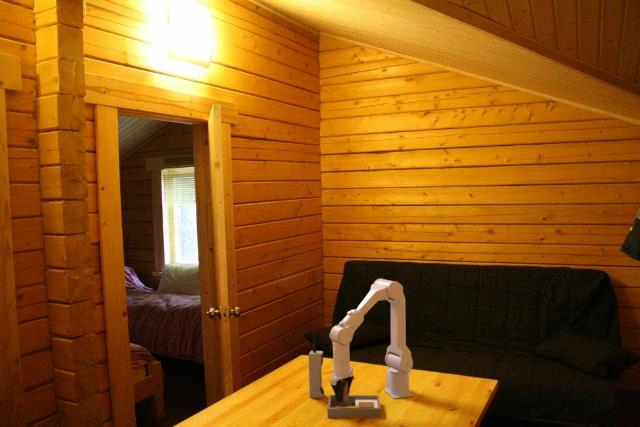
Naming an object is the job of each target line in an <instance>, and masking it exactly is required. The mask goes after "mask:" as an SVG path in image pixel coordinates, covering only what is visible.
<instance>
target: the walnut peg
mask: <svg viewBox="0 0 640 427" xmlns="http://www.w3.org/2000/svg"><path fill="white" fill-rule="evenodd" d="M341 381H342V382H344V383H346V385H345V389H344V396H343V401H342V402H339V401H337V404H336V405H337V407H338V408H347V407H348V406H349V404H348V381H346V380H341Z"/></svg>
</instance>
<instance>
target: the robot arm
mask: <svg viewBox="0 0 640 427" xmlns="http://www.w3.org/2000/svg"><path fill="white" fill-rule="evenodd" d="M378 301H387V302H389V304H390V345H388V347H387V348H386V354H385V357H384V362H385V364H386V365H387V367H388V369H387V371H386V388H384V391H385V392H386V393H387V394H388V395H389V396H390V397H391V398H393V399H401V398H409V397H413V396H414V394H413V393H412V392H411V391H410V372H411V371H412V368H413V366H414V362H413V358H412V352H411V350H410V349H409V348H408V346H407V345H406V343H407V342H406V340H407V338H406V336H407V335H406V334H407V333H406V332H407V331H406V297H405V295H404V286H403V285H402V284H401V283H400V282H398V281H396V280H395V281H393V280H388V279H384V278H378V279H376V280H375V281H374V282H373V283H372V284H371V286H370V290H369V292H368V293H367V294H366V296H365V297H364V298H363V299H362V301H361V302H360V304H359V305H358V306H357V308H355V309H351V310H349V311H347V312H346V314H347V315H345V317H344V318H343V319H342V320H341V321H340V322H339V323H338V324H336V325H334V326H333V327H332V328H331V330H330V333H328V335H329V339H330V340H331V342H332V343H331V344H332V345H331V346H332V359H333V361H332V362H333V373H332V375H331V377H330V378H329V385H330V386H331V388H332V390H333V392H334V395H335V397H336V400H337V401H339V402H342V401H343V396H344V389H345V385H346V383H344V382H342V381H341V380H346V381H348V396H349V395H350V390H351V387H352V384H353V381H354V379H355V376H354V367H353V366H351V364H350V362H351V361H350V360H351V359H350V358H351V357H350V343H351V342H352V340H353V338H354V337H353V336H354V334H355V331H356V330H357V329H358V328H359V327H360V326H361V324H362V323H363V322H364V321H365V320H364V319H365V318H364V316H366V314H367V313H368V312H369V311H370V309H371V308H373V307H374V305H375V304H377V303H378Z"/></svg>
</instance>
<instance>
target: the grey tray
mask: <svg viewBox="0 0 640 427" xmlns="http://www.w3.org/2000/svg"><path fill="white" fill-rule="evenodd" d="M380 402H381V401H380V395H379V394H349V396H348V405H354V406H355V407H332V405H337V400H336V397H335V394H330V395H328V401H327V409H326V410H327V411H326V412H327V413H326V414H327V418H376V419H377V418H379V419H380V418H381V416H382V415H381V414H382V412H381V403H380Z"/></svg>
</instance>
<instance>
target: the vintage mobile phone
mask: <svg viewBox="0 0 640 427" xmlns="http://www.w3.org/2000/svg"><path fill="white" fill-rule="evenodd" d="M315 332H316V330H313V331H312V333H313V334H312V337H313V338H312V339H313V344H312V347H313V348H312V349H313V350H310V352H309V353H308V381H309V382H308V386H309V387H308V388H309V390H308V391H309V398H311V399H312V398H315V399H323V397H324V396H325V390H324V387H323V380H322V379H323V378H322V376H323V375H322V374H323V373H322V366H323V364H324V351H322V350H316V349H317V348H316V333H315Z"/></svg>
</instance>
